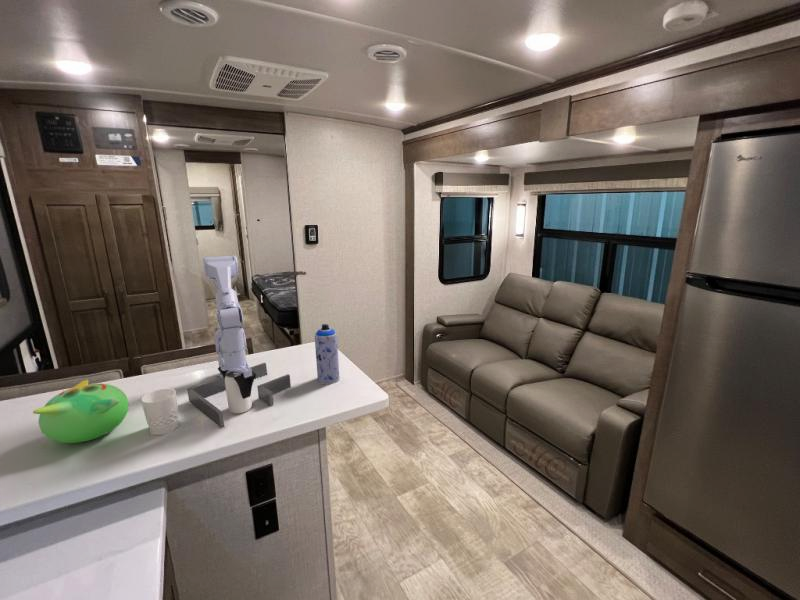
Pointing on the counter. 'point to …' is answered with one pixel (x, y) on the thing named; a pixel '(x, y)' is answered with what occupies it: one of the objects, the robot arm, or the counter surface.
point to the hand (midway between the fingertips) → (239, 392)
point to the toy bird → (83, 412)
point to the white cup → (161, 411)
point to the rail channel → (218, 385)
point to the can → (235, 395)
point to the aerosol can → (327, 355)
